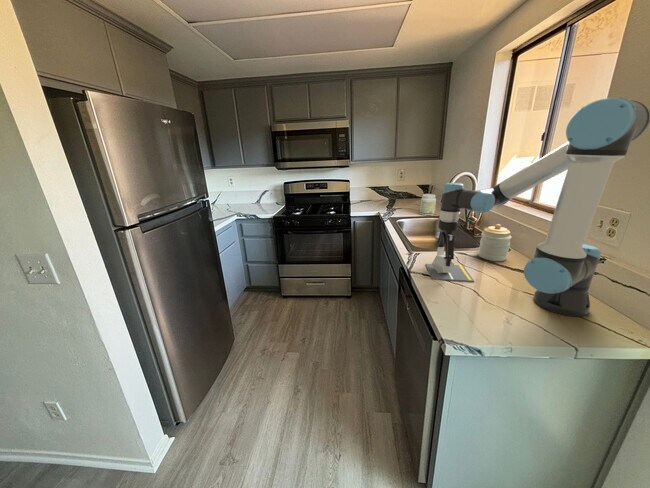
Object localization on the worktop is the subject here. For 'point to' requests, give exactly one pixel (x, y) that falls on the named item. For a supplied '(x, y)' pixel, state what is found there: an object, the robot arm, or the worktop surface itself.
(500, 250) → the jar
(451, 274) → the mat
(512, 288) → the worktop surface
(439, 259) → the die
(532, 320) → the worktop surface
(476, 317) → the worktop surface
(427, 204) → the supplement tub
